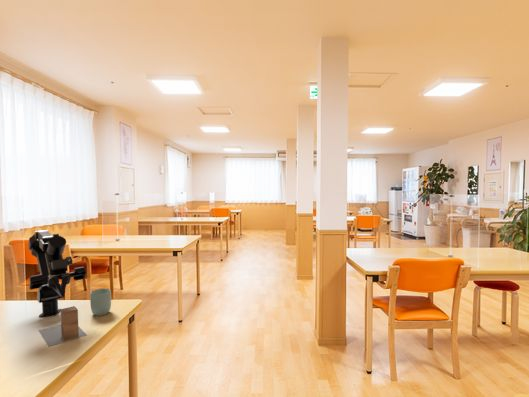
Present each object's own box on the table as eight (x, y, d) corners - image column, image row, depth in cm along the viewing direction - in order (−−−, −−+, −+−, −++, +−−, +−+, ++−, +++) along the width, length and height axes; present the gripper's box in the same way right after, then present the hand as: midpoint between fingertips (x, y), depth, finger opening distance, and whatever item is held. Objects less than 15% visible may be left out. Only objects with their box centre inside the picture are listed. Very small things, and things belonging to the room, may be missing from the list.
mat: (38, 331, 126) (38, 330, 126) (73, 322, 134) (73, 321, 134) (48, 347, 113) (48, 346, 113) (87, 336, 121) (87, 335, 121)
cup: (103, 318, 137) (102, 294, 137) (86, 317, 139) (85, 293, 138) (115, 311, 145) (114, 288, 144) (99, 310, 146) (98, 288, 146)
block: (61, 336, 121) (60, 309, 120) (75, 332, 124) (74, 305, 123) (64, 340, 117) (63, 312, 117) (78, 336, 120) (77, 309, 120)
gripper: (27, 255, 122) (34, 292, 114) (84, 246, 134) (93, 280, 127) (26, 271, 128) (32, 307, 121) (80, 262, 141) (88, 294, 133)
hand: (62, 296), depth 125 cm, fingers closed
